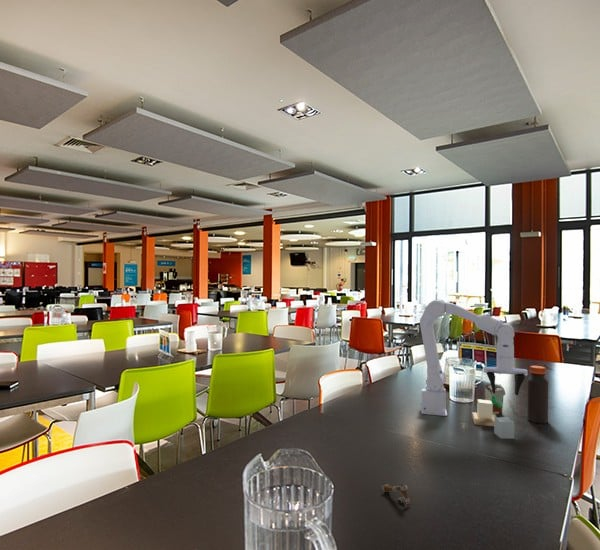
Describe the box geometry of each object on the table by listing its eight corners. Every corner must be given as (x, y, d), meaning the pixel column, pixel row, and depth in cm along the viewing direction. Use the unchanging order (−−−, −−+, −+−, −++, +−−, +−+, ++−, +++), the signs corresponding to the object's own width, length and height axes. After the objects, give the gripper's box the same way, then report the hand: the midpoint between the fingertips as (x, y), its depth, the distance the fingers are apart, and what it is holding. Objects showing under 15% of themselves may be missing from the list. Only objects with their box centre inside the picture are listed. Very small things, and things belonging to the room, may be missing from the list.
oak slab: (474, 425, 151) (474, 418, 151) (472, 418, 159) (472, 412, 159) (498, 428, 149) (499, 421, 149) (495, 421, 156) (495, 414, 156)
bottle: (547, 419, 157) (547, 366, 157) (549, 425, 151) (549, 369, 151) (526, 416, 160) (526, 364, 160) (527, 422, 154) (528, 367, 154)
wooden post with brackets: (409, 506, 94) (403, 484, 96) (386, 505, 101) (381, 485, 102) (414, 504, 95) (409, 482, 97) (392, 503, 101) (387, 483, 103)
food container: (509, 418, 158) (509, 391, 158) (492, 417, 159) (492, 390, 159) (500, 408, 170) (500, 383, 170) (484, 407, 171) (484, 382, 171)
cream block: (478, 417, 152) (479, 402, 152) (477, 413, 156) (477, 399, 156) (492, 419, 151) (492, 403, 151) (490, 415, 155) (490, 400, 155)
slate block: (500, 438, 138) (500, 421, 138) (494, 433, 142) (494, 417, 142) (514, 438, 138) (514, 421, 138) (507, 433, 142) (507, 417, 142)
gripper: (485, 357, 152) (485, 394, 152) (529, 359, 148) (529, 398, 148) (482, 353, 159) (482, 389, 159) (524, 356, 155) (524, 392, 155)
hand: (505, 393), depth 154 cm, fingers open, 7 cm apart
